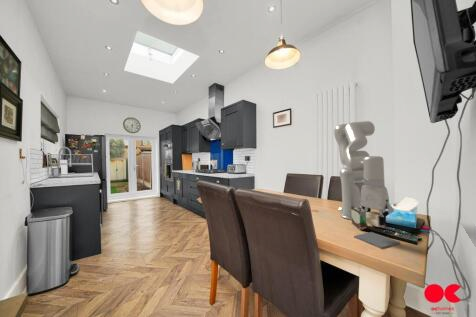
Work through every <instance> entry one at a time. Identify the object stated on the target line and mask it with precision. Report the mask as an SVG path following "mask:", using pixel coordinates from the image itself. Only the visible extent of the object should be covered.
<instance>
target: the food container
mask: <svg viewBox="0 0 476 317" xmlns="http://www.w3.org/2000/svg"><path fill="white" fill-rule="evenodd" d="M351 216H352V220H351V224H352V225H353V226H354V228H356V229H358V230H359V231H365V230H364V228H365V227H367V228H368V224H367V223H366V213H365V212H364V210H363V209H362V207H361V206H360V207H357V206H351Z"/></svg>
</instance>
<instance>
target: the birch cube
mask: <svg viewBox="0 0 476 317" xmlns="http://www.w3.org/2000/svg"><path fill="white" fill-rule="evenodd" d="M379 216H380V213H379V211H378V212H377V211H373V210H371V212H366V223H367V225H369V226H374V227H377V228H379V227H381V226H380V225H379ZM385 226H386V225H383V226H382V227H385Z"/></svg>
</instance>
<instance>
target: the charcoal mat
mask: <svg viewBox="0 0 476 317" xmlns="http://www.w3.org/2000/svg"><path fill="white" fill-rule="evenodd" d="M353 237H354V238H355V239H358V240H360V241H362V242H365V243H366V244H369V245H371V246H374V247H376V248H379V249H381V250H382V249H386V248H389V247H392V246H396V245H399V244H401V242H400V241H398V240H395V239H392V238H390V237H387V236H384V235H382V234H379V233H377V232H376V233H375V232H373V231H369V232H365V233H361V234H357V235H356V234H355V235H353Z"/></svg>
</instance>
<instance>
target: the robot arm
mask: <svg viewBox="0 0 476 317" xmlns="http://www.w3.org/2000/svg"><path fill="white" fill-rule="evenodd" d="M374 133H375V125H374V123H373V122H372V121H368V120H367V121H366V120H365V121H354V122H349V123H342V124H338V125H336V126H335V127H334V130H333V135H334V138H335V141H336V143H337V146H338V150H339V158H340V162H341V164H342V165H343V166H346V167H343V168H341V169H340V170H339V178H340V183H341V198H342V202H341V204H342V206H341V207H338V209H337V211H339V212H340V213H339V216H340V218H343V219H346V220H351V221H352V216H351V206H357V207H362V209H363V210H364V212H365V213H366V212H372V210H378V213H380V216H379V225H380V227H384V226H383V225H385V226H386V224H387V216H389V215H390V214H391V213H394V212H395V209H394V208H393V207H392V205H391V204H390V196H389V193H388V188H387V187H386V186H385V185H386V184H385V164H384V163H385V161H384V157H382V156H379V155H377V156H376V155H370V154H369V153H368V151H366V150H361V149H363V148H365V147H366V146H367V145H368V138H367V137H370V136H373V135H374ZM356 183H363V184H362V186H361V190H360V188H359V187H358V186H357V185H356Z"/></svg>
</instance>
